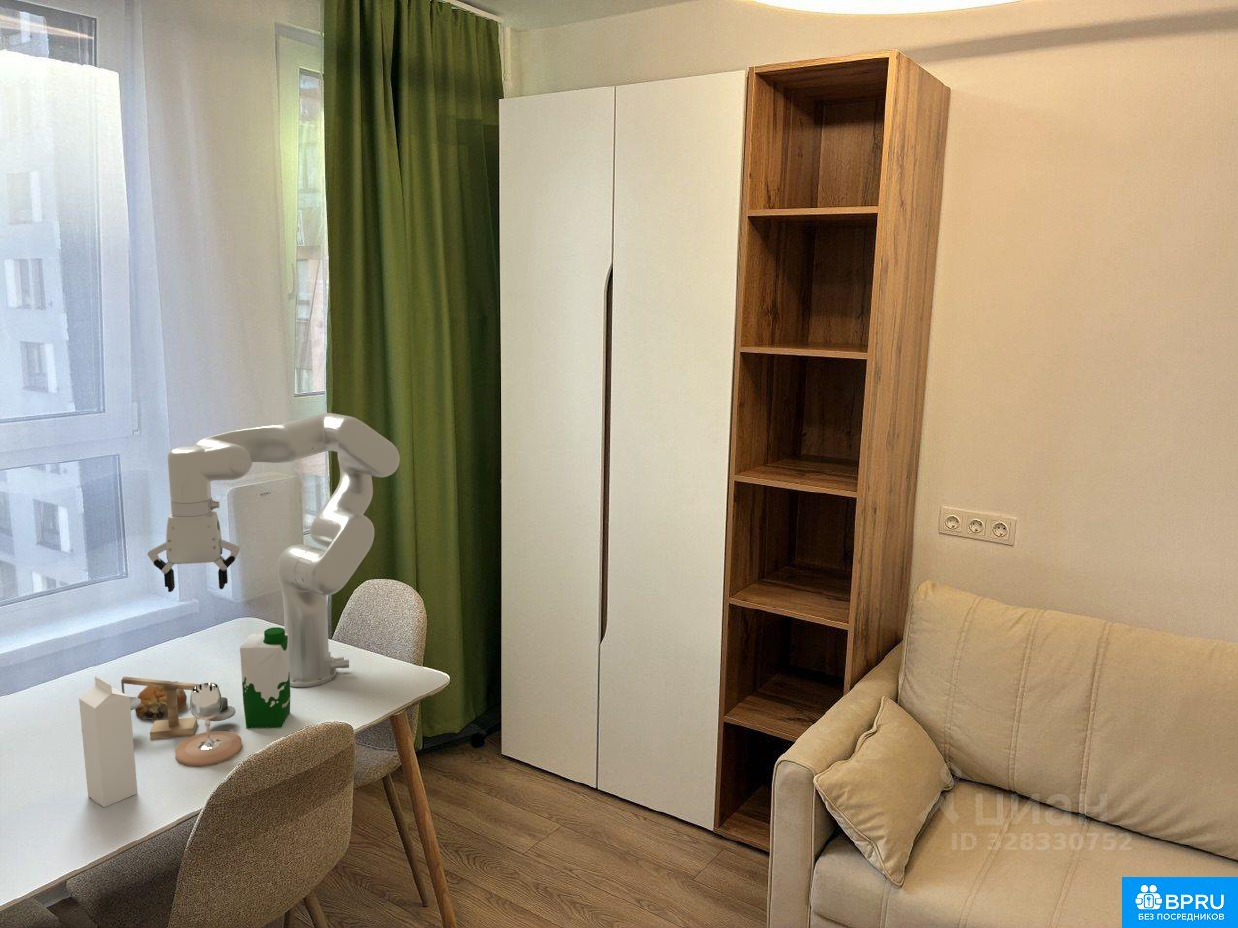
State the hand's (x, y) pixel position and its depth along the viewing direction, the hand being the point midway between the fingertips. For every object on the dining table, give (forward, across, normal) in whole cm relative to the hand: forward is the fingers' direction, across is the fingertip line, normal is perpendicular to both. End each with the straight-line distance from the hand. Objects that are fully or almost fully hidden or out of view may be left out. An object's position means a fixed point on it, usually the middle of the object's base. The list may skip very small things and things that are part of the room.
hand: (197, 588), depth 193 cm
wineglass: (+27, -3, +16) cm, 32 cm away
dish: (+28, -3, +16) cm, 33 cm away
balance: (+28, +5, +6) cm, 29 cm away
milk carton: (+28, -13, +5) cm, 32 cm away
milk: (+28, +11, +29) cm, 42 cm away
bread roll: (+29, +9, -5) cm, 31 cm away
